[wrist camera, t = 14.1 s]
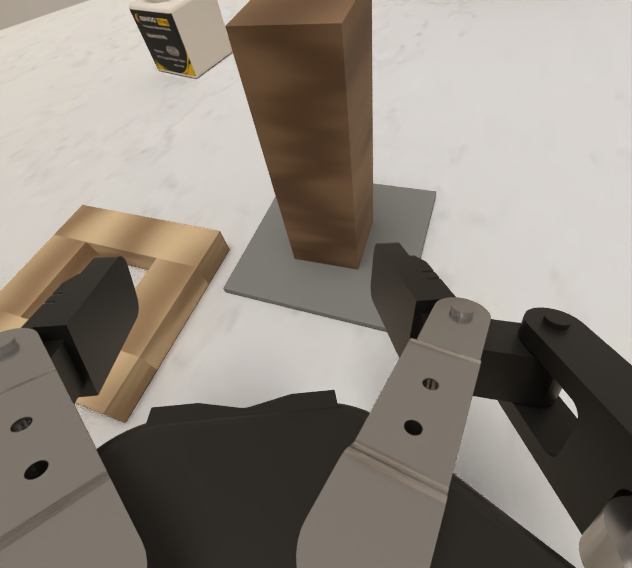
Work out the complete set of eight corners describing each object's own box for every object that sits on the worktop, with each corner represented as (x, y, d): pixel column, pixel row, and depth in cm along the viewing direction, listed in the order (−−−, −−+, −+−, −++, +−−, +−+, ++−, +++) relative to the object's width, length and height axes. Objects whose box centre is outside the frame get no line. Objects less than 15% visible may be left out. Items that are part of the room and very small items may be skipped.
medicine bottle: (157, 71, 46) (98, -53, 36) (195, 45, 49) (150, -75, 39) (196, 79, 43) (144, -53, 33) (233, 52, 46) (195, -77, 36)
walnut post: (294, 258, 25) (225, 26, 13) (314, 212, 27) (269, -20, 16) (358, 269, 24) (341, 23, 12) (373, 220, 26) (371, -27, 14)
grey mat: (225, 291, 24) (223, 288, 24) (290, 177, 30) (289, 173, 30) (401, 335, 21) (401, 331, 21) (435, 195, 27) (436, 191, 27)
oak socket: (-25, 361, 24) (-55, 348, 22) (98, 222, 30) (82, 205, 29) (125, 422, 20) (103, 413, 19) (229, 249, 27) (219, 231, 25)
